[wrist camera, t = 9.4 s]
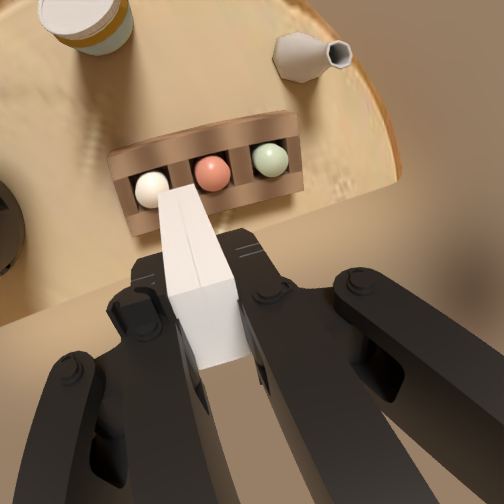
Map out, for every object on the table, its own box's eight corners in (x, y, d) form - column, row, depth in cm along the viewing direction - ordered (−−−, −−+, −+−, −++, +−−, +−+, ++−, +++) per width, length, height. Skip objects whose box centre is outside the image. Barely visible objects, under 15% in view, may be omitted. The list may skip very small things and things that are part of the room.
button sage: (251, 172, 39) (259, 180, 36) (246, 143, 37) (255, 149, 34) (279, 165, 40) (289, 173, 37) (275, 137, 38) (286, 143, 35)
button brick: (196, 185, 38) (200, 195, 35) (189, 156, 36) (193, 163, 33) (226, 177, 38) (233, 186, 36) (220, 149, 36) (227, 155, 33)
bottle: (141, 41, 28) (133, 14, 16) (85, 66, 27) (44, 57, 15) (125, -6, 24) (111, -55, 12) (69, 19, 23) (24, -13, 11)
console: (133, 223, 39) (132, 237, 36) (111, 151, 34) (106, 158, 30) (291, 180, 43) (303, 190, 40) (283, 110, 37) (297, 113, 34)
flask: (324, 82, 37) (370, 87, 29) (274, 85, 35) (310, 88, 27) (320, 32, 33) (366, 25, 25) (268, 32, 31) (304, 20, 23)
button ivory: (141, 201, 37) (140, 212, 34) (132, 172, 34) (131, 181, 32) (171, 192, 37) (173, 202, 34) (163, 163, 35) (164, 171, 32)
